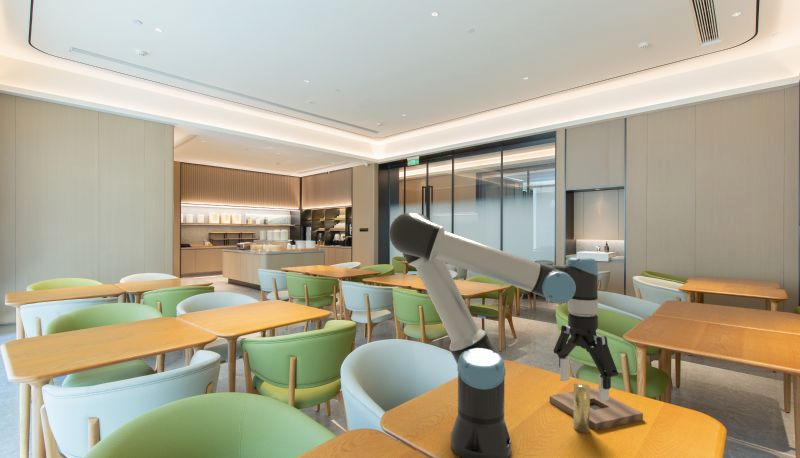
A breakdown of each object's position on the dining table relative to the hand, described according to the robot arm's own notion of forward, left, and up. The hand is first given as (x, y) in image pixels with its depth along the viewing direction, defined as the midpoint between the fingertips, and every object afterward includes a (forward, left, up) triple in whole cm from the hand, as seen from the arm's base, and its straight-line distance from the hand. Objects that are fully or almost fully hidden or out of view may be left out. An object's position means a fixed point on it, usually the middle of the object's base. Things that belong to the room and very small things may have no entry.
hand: (583, 389), depth 106 cm
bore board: (+12, +7, -11) cm, 18 cm away
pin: (0, 0, -11) cm, 11 cm away
